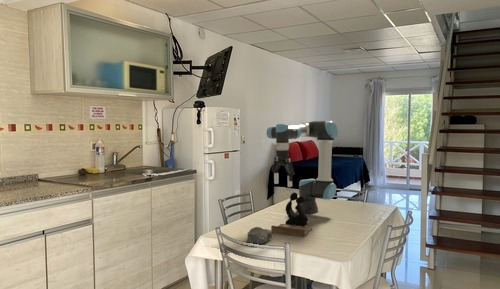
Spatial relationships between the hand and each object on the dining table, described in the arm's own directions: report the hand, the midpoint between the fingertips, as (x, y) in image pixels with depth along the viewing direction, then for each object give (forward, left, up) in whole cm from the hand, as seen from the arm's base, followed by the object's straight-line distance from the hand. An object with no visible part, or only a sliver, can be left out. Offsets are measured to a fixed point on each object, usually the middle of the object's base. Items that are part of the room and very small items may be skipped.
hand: (283, 185), depth 221 cm
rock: (+27, +4, -27) cm, 38 cm away
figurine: (-13, +1, -27) cm, 30 cm away
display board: (+2, +8, -26) cm, 28 cm away
